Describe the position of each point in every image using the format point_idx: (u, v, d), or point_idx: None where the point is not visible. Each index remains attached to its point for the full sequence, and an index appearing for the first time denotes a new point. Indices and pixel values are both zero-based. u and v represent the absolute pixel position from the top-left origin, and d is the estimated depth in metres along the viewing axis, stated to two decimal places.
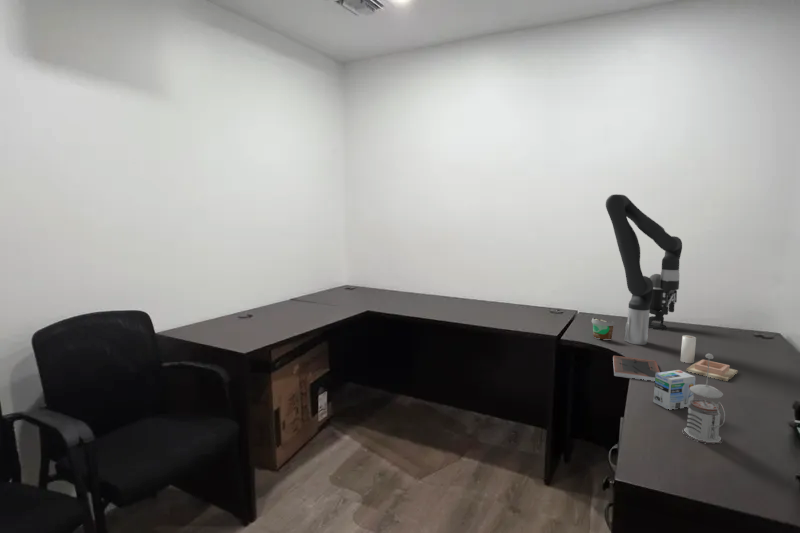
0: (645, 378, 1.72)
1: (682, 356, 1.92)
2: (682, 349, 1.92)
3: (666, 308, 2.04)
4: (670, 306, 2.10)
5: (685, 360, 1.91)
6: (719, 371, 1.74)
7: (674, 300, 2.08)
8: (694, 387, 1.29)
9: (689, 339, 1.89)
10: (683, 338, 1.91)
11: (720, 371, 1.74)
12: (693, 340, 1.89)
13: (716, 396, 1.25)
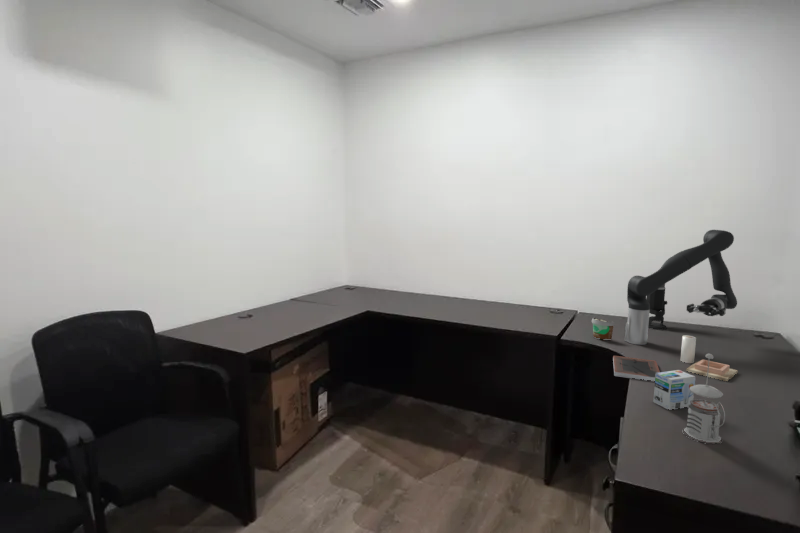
0: (645, 378, 1.72)
1: (682, 356, 1.92)
2: (682, 349, 1.92)
3: (715, 314, 1.96)
4: (692, 309, 2.02)
5: (685, 360, 1.91)
6: (719, 371, 1.74)
7: (697, 312, 2.04)
8: (694, 387, 1.29)
9: (689, 339, 1.89)
10: (683, 338, 1.91)
11: (720, 371, 1.74)
12: (693, 340, 1.89)
13: (716, 396, 1.25)
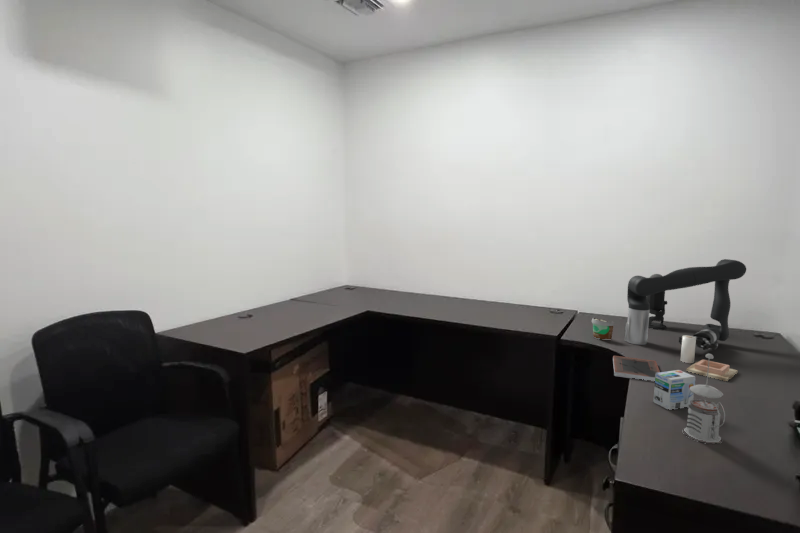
0: (645, 378, 1.72)
1: (682, 356, 1.92)
2: (682, 349, 1.92)
3: None
4: None
5: (685, 360, 1.91)
6: (719, 371, 1.74)
7: None
8: (694, 387, 1.29)
9: (689, 339, 1.89)
10: (683, 338, 1.91)
11: (720, 371, 1.74)
12: (693, 340, 1.89)
13: (716, 396, 1.25)
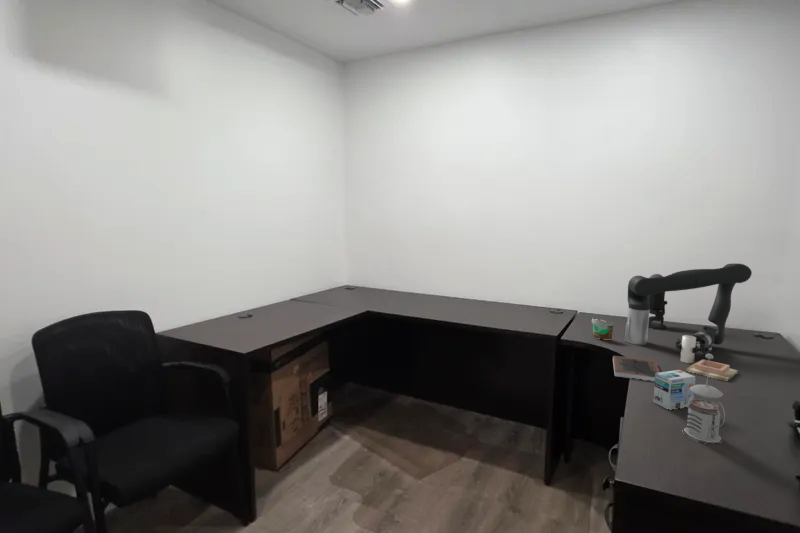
0: (645, 378, 1.72)
1: (682, 356, 1.92)
2: (682, 349, 1.92)
3: None
4: None
5: (685, 360, 1.91)
6: (719, 371, 1.74)
7: None
8: (694, 387, 1.29)
9: (689, 339, 1.89)
10: (683, 338, 1.91)
11: (720, 371, 1.74)
12: (693, 340, 1.89)
13: (716, 396, 1.25)
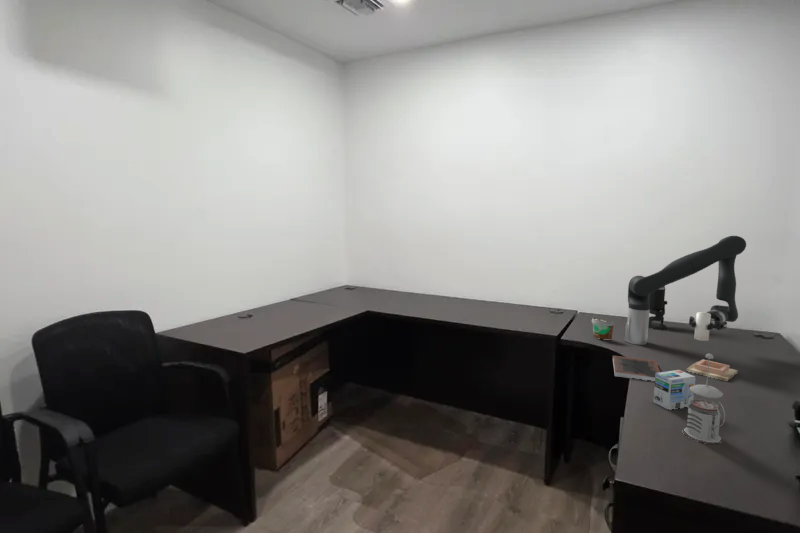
0: (645, 378, 1.72)
1: (696, 333, 1.85)
2: (696, 326, 1.85)
3: None
4: (695, 323, 1.87)
5: (699, 337, 1.84)
6: (719, 371, 1.74)
7: None
8: (694, 387, 1.29)
9: (704, 315, 1.82)
10: (697, 315, 1.84)
11: (720, 371, 1.74)
12: (708, 316, 1.82)
13: (716, 396, 1.25)
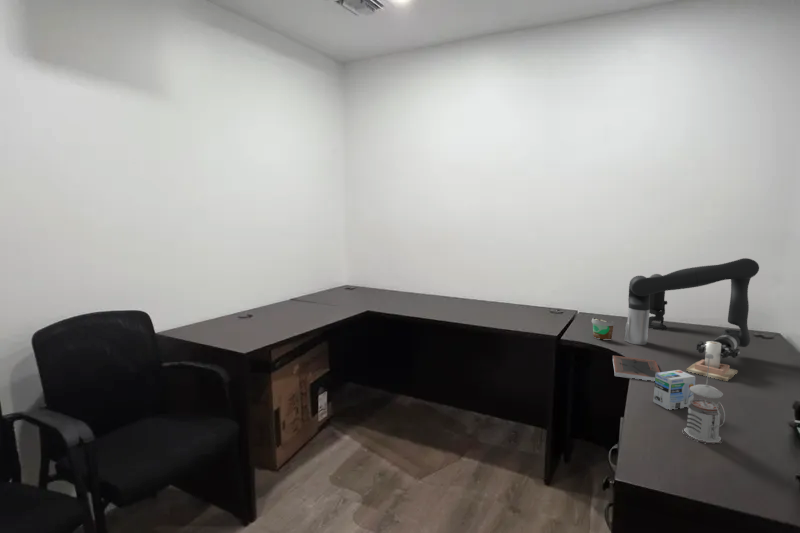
0: (646, 378, 1.72)
1: (706, 364, 1.79)
2: None
3: None
4: (703, 348, 1.82)
5: None
6: (719, 371, 1.74)
7: None
8: (694, 387, 1.29)
9: (714, 345, 1.77)
10: (707, 344, 1.79)
11: (720, 371, 1.74)
12: (718, 346, 1.76)
13: (716, 396, 1.25)
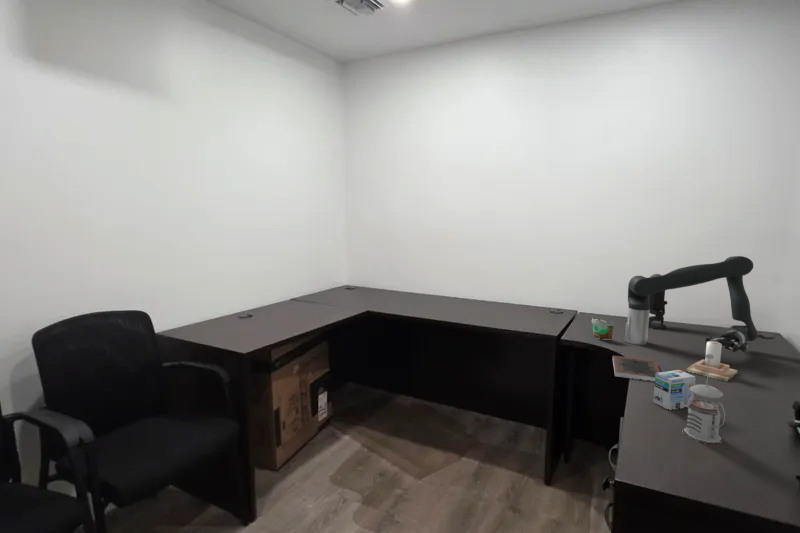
0: (646, 378, 1.72)
1: (706, 364, 1.79)
2: None
3: None
4: None
5: None
6: (719, 371, 1.74)
7: None
8: (694, 387, 1.29)
9: (714, 346, 1.76)
10: (707, 344, 1.79)
11: (720, 371, 1.74)
12: (719, 347, 1.76)
13: (716, 396, 1.25)
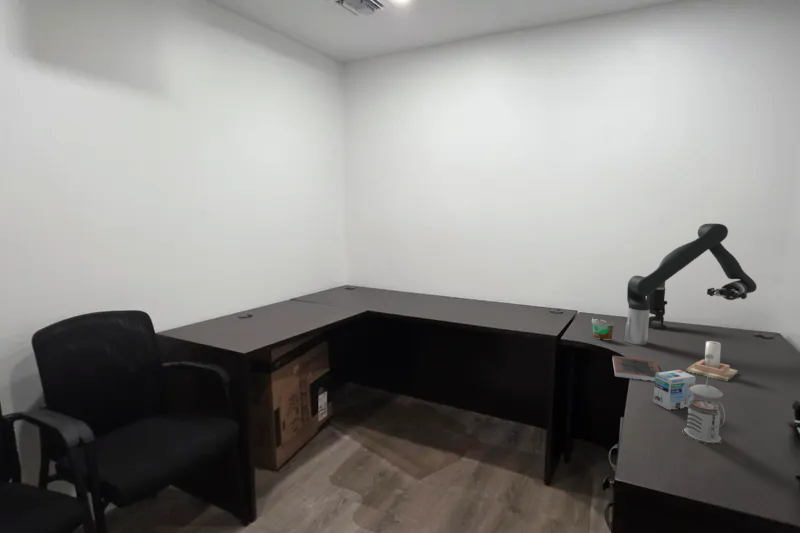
0: (646, 378, 1.72)
1: (706, 363, 1.79)
2: None
3: None
4: (713, 292, 2.01)
5: None
6: (719, 371, 1.74)
7: None
8: (694, 387, 1.29)
9: (713, 345, 1.77)
10: (707, 344, 1.79)
11: (720, 371, 1.74)
12: (717, 346, 1.76)
13: (716, 396, 1.25)
